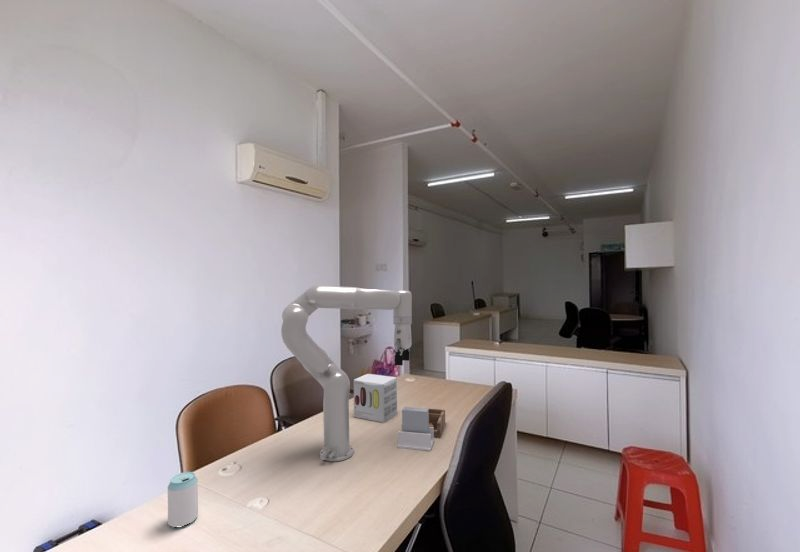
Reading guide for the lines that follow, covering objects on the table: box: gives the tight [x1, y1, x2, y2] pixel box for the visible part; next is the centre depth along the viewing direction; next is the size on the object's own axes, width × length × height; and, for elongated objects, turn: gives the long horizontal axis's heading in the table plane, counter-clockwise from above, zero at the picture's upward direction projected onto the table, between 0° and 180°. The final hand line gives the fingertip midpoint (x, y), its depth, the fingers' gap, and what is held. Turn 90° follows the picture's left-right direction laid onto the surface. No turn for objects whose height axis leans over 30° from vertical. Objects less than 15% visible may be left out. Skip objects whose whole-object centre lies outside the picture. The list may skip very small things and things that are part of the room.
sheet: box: [401, 406, 430, 434], centre depth 143 cm, size 4×10×13 cm, turn 75°
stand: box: [396, 427, 435, 452], centre depth 143 cm, size 9×13×6 cm
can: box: [167, 471, 199, 528], centre depth 99 cm, size 7×7×12 cm
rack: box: [427, 407, 446, 439], centre depth 158 cm, size 16×16×6 cm
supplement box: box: [353, 373, 398, 424], centre depth 175 cm, size 17×13×18 cm
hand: (402, 362), depth 148 cm, fingers open, 9 cm apart
